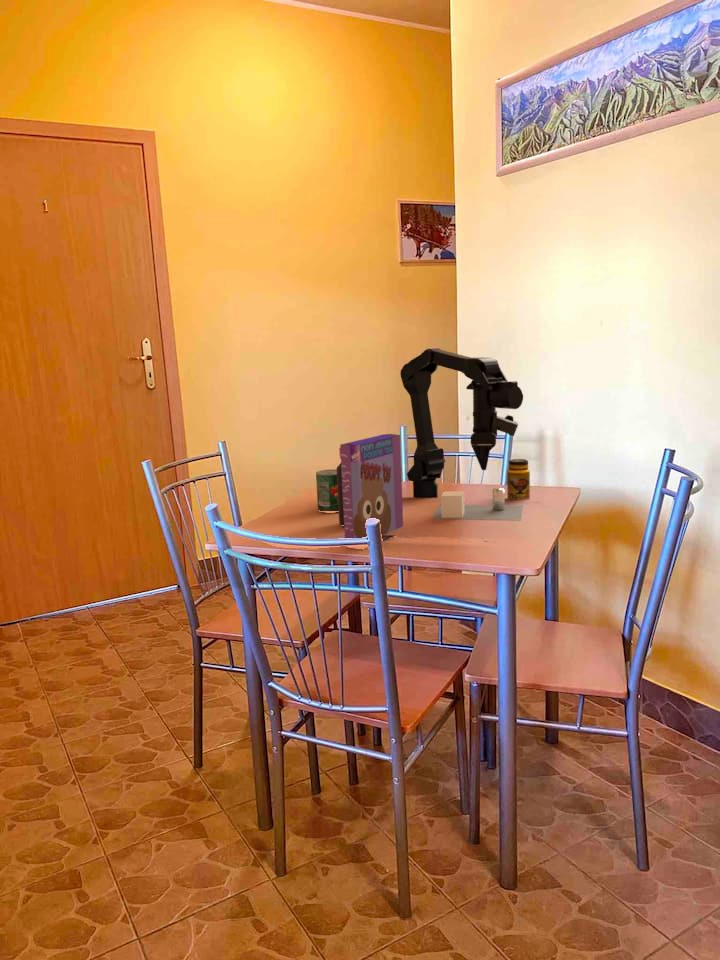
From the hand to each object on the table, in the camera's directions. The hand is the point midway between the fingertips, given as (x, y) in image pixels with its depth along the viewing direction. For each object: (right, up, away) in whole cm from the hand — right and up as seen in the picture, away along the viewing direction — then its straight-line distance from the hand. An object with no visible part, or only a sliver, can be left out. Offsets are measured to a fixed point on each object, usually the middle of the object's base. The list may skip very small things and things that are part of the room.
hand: (484, 466), depth 186 cm
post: (+4, -13, -1) cm, 13 cm away
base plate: (-2, -13, -3) cm, 14 cm away
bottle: (-35, -15, -4) cm, 38 cm away
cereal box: (-29, -18, -19) cm, 39 cm away
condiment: (+11, -10, +13) cm, 20 cm away
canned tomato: (-41, -12, +12) cm, 44 cm away
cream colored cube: (-9, -12, -5) cm, 16 cm away
